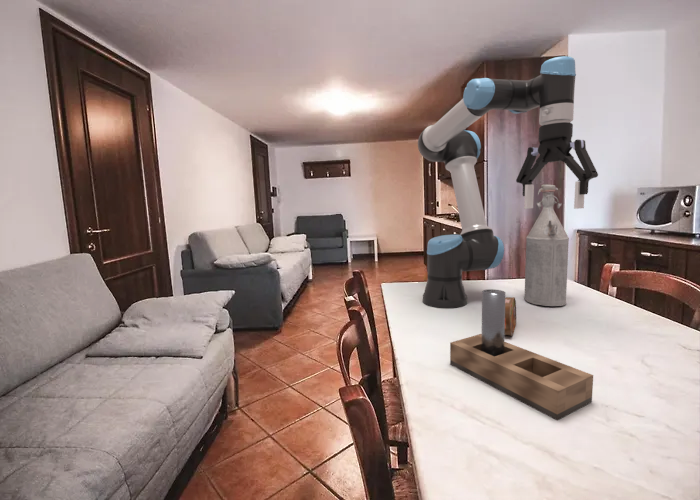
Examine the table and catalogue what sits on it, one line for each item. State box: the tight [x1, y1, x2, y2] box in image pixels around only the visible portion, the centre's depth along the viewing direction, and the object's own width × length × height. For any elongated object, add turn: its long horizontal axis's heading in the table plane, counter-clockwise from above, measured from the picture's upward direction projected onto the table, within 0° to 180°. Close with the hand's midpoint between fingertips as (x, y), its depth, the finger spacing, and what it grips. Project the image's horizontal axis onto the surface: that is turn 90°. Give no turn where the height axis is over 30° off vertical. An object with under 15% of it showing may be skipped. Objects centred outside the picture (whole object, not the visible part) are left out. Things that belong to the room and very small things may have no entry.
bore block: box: [449, 333, 594, 421], centre depth 71 cm, size 24×10×5 cm, turn 29°
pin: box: [481, 289, 506, 357], centre depth 74 cm, size 4×4×16 cm
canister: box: [523, 184, 570, 307], centre depth 121 cm, size 13×17×40 cm
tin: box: [505, 296, 517, 337], centre depth 98 cm, size 15×3×8 cm, turn 150°
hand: (552, 208), depth 94 cm, fingers open, 13 cm apart
